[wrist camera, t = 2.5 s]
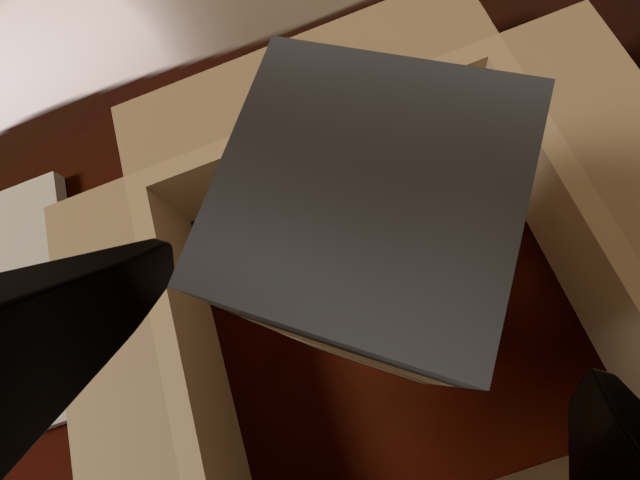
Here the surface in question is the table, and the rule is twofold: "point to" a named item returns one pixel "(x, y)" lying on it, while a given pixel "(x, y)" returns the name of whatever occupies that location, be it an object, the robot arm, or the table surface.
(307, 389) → the table surface
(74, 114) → the table surface
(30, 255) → the white square tile
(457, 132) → the capped block
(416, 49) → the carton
